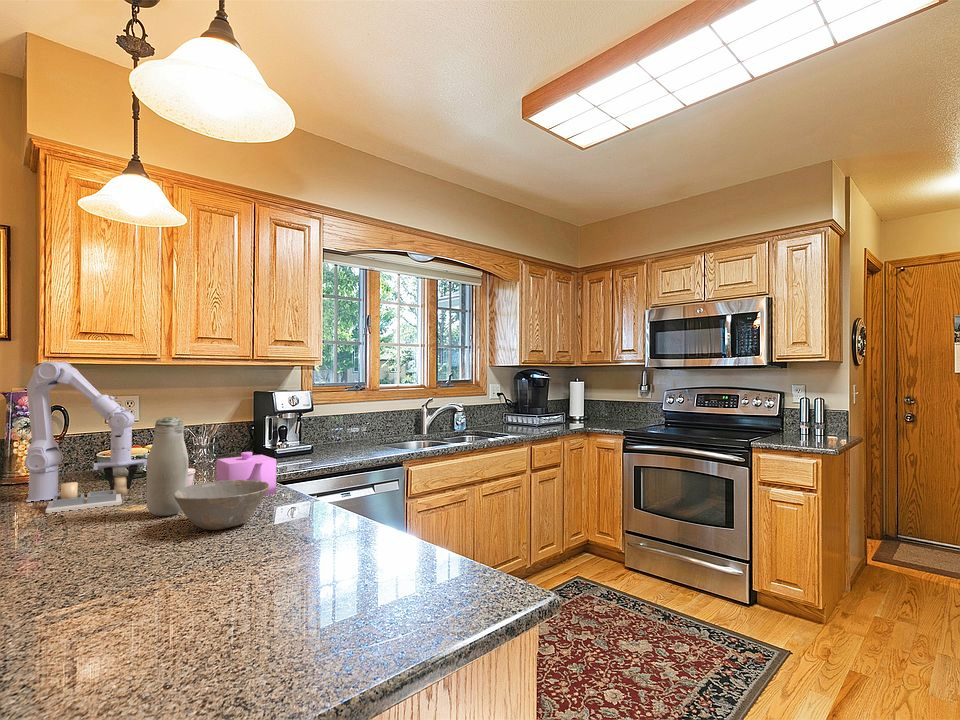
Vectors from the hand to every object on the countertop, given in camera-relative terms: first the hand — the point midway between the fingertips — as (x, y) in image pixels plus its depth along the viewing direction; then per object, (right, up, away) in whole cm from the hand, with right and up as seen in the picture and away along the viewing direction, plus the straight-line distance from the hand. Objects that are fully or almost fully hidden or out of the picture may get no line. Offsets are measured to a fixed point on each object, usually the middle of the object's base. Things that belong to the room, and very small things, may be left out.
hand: (120, 489), depth 172 cm
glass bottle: (+29, -2, -23) cm, 37 cm away
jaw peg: (0, -2, 0) cm, 2 cm away
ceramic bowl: (+50, -2, -33) cm, 60 cm away
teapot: (+41, -3, +3) cm, 41 cm away
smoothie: (+25, -2, -7) cm, 26 cm away
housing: (-2, -2, -13) cm, 13 cm away
